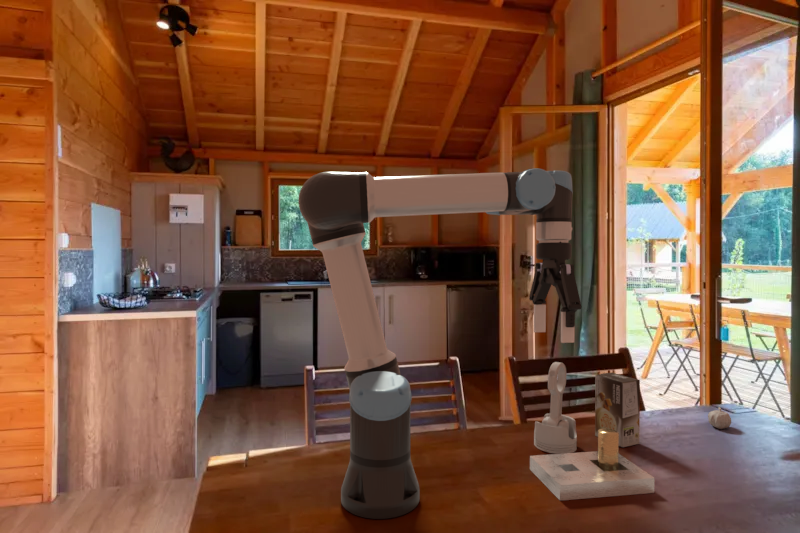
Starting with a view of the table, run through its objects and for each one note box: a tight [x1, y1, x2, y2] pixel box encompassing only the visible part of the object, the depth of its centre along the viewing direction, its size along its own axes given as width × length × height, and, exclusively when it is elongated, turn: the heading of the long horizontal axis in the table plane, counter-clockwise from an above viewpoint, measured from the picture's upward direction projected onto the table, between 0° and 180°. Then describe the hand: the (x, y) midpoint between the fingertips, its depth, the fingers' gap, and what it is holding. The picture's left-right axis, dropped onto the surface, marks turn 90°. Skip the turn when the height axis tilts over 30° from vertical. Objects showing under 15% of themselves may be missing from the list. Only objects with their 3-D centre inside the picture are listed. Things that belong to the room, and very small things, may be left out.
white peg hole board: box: [529, 450, 655, 501], centre depth 105 cm, size 20×14×3 cm
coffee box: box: [594, 372, 641, 448], centre depth 127 cm, size 9×6×16 cm
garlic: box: [707, 406, 732, 430], centre depth 137 cm, size 6×5×5 cm
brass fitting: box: [597, 429, 620, 471], centre depth 106 cm, size 4×4×10 cm
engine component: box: [533, 361, 578, 454], centre depth 124 cm, size 11×20×10 cm
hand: (552, 337), depth 112 cm, fingers open, 13 cm apart
